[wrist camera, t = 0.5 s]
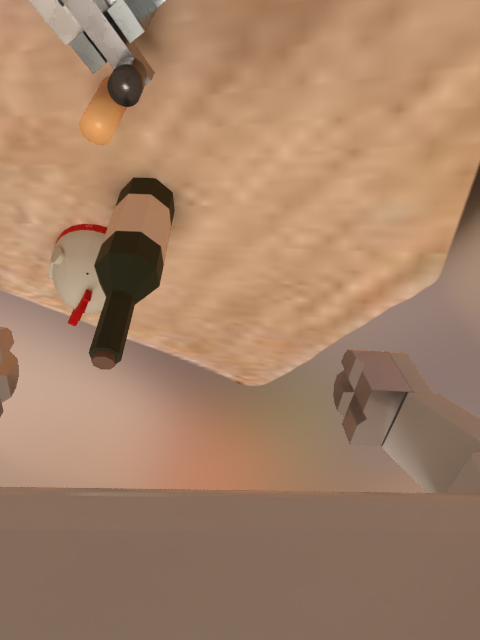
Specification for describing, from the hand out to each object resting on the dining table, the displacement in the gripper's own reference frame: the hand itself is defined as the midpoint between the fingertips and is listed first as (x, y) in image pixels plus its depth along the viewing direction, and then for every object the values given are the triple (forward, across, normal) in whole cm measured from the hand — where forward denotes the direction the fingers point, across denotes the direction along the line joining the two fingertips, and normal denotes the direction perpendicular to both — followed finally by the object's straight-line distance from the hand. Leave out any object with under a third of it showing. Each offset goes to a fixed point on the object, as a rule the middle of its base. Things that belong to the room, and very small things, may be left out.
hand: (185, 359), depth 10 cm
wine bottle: (+56, +7, +14) cm, 58 cm away
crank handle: (+41, +10, -8) cm, 43 cm away
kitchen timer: (+60, +16, +26) cm, 67 cm away
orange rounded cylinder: (+52, +10, 0) cm, 53 cm away
